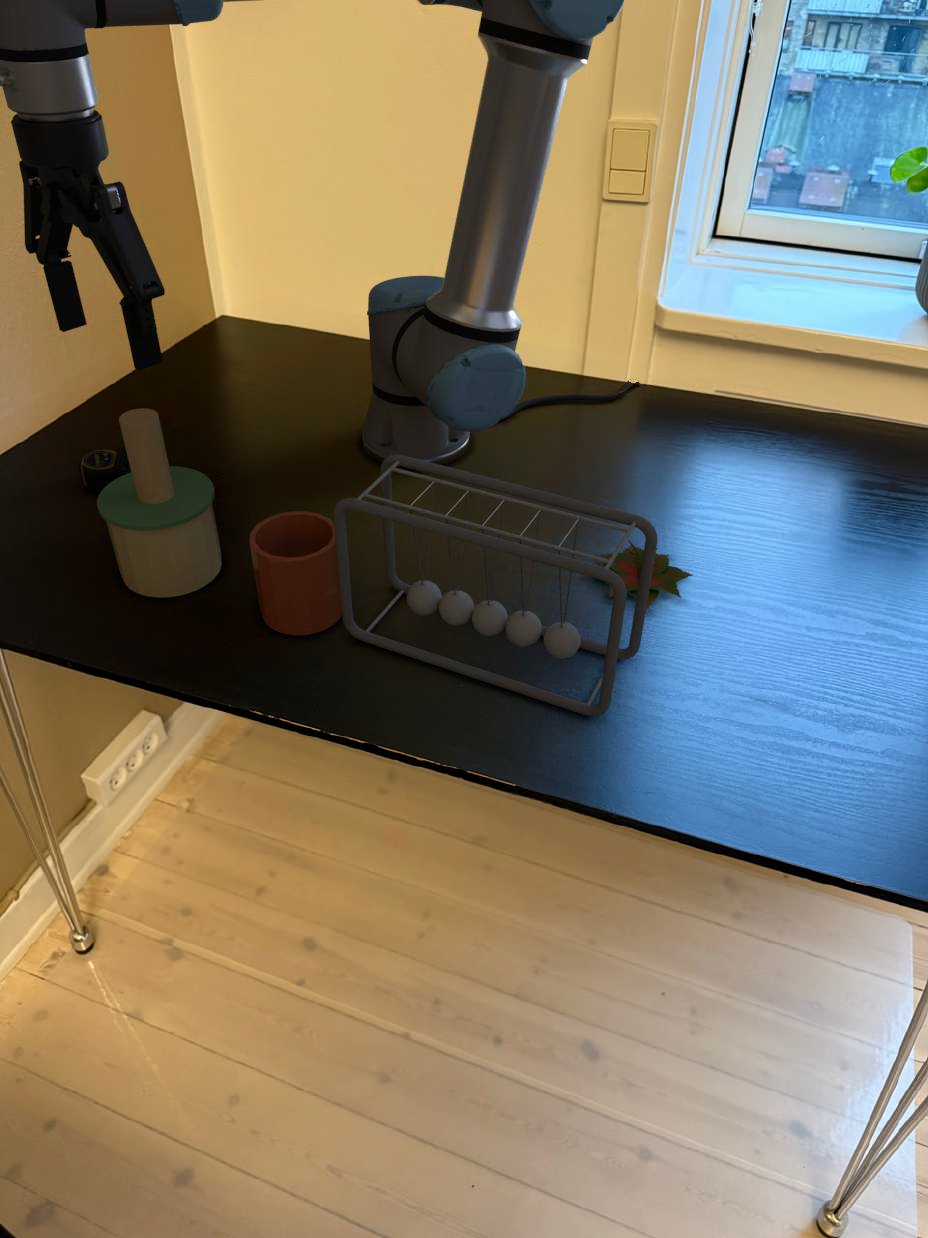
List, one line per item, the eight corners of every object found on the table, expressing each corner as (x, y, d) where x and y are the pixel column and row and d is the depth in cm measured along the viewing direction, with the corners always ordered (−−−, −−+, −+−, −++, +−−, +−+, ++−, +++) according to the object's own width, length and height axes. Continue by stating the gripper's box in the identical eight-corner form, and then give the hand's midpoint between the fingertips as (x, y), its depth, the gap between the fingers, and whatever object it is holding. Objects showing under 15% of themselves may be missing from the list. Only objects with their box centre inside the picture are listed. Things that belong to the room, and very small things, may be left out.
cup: (341, 581, 111) (335, 508, 105) (346, 631, 104) (340, 556, 98) (261, 587, 110) (250, 514, 103) (261, 639, 103) (249, 563, 96)
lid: (217, 471, 113) (203, 387, 106) (212, 530, 103) (196, 442, 96) (107, 478, 111) (85, 393, 104) (91, 539, 101) (66, 450, 95)
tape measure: (138, 492, 125) (132, 467, 123) (83, 500, 124) (76, 475, 121) (135, 467, 130) (129, 442, 128) (82, 474, 129) (76, 450, 126)
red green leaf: (711, 580, 112) (718, 547, 109) (650, 625, 105) (656, 592, 102) (628, 538, 118) (633, 507, 116) (566, 578, 112) (569, 546, 109)
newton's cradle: (638, 660, 101) (662, 519, 89) (605, 724, 93) (627, 579, 82) (389, 584, 111) (382, 448, 99) (342, 636, 103) (329, 495, 92)
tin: (223, 537, 118) (211, 469, 112) (219, 593, 109) (206, 523, 103) (128, 544, 116) (110, 476, 110) (116, 601, 108) (97, 531, 102)
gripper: (-56, 96, 87) (12, 322, 100) (96, 143, 74) (149, 395, 88) (22, 84, 91) (76, 303, 105) (177, 127, 79) (216, 370, 92)
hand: (109, 345), depth 96 cm, fingers open, 13 cm apart
